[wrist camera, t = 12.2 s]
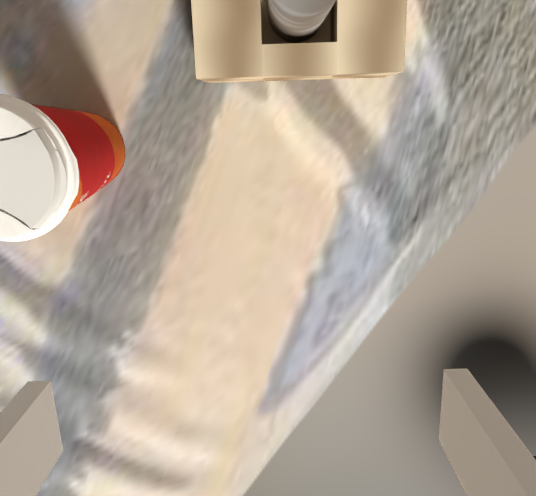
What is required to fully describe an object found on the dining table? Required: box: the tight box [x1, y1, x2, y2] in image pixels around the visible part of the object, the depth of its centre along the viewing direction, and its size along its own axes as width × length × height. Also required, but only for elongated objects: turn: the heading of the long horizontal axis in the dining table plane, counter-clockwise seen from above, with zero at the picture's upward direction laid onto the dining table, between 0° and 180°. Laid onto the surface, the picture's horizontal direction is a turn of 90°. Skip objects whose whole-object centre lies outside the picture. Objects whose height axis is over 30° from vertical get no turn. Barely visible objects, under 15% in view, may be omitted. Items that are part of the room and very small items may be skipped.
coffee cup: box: [0, 94, 125, 242], centre depth 33 cm, size 8×8×15 cm
